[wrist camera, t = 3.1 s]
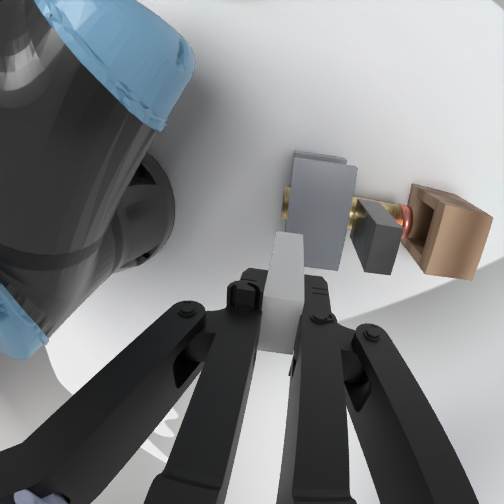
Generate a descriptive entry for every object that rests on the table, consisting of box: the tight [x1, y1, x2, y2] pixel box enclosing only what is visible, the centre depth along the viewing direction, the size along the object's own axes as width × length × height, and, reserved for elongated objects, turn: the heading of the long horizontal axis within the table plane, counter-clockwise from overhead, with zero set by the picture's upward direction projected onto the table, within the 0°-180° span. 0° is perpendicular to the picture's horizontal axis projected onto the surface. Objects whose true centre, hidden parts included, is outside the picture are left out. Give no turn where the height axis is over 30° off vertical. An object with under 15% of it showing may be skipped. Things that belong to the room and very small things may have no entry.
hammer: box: [281, 187, 413, 275], centre depth 22 cm, size 12×4×10 cm, turn 86°
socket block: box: [401, 184, 493, 280], centre depth 24 cm, size 6×6×8 cm
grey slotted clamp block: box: [285, 151, 358, 271], centre depth 26 cm, size 5×9×7 cm, turn 176°
